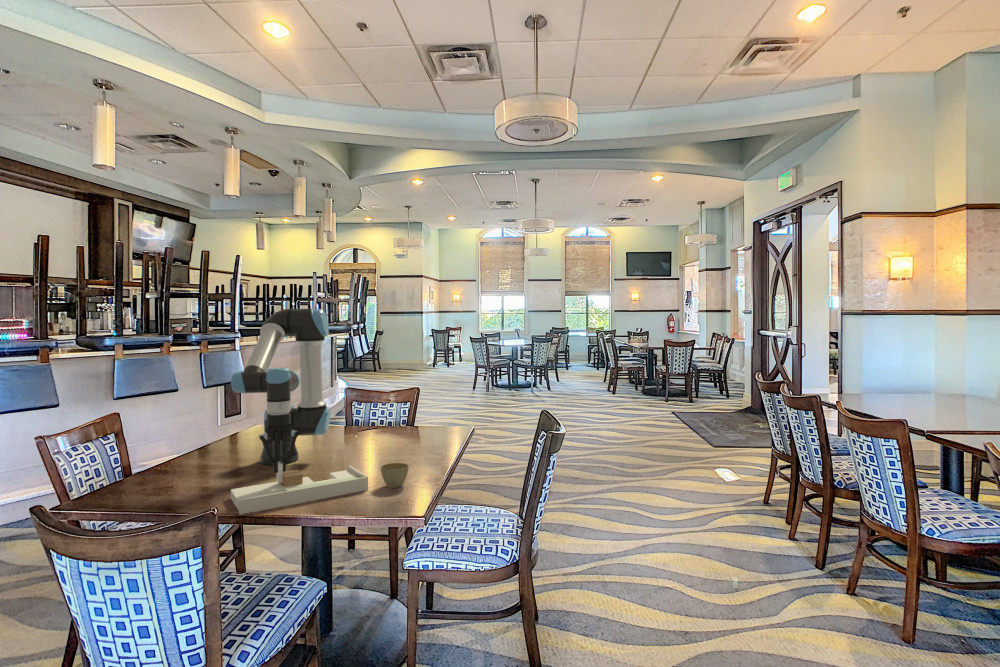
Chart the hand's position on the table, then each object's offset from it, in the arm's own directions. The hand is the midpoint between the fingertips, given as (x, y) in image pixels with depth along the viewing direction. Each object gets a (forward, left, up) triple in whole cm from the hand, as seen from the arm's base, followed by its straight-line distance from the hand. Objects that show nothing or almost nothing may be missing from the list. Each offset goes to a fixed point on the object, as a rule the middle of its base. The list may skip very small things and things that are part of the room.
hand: (279, 481), depth 182 cm
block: (0, +4, -1) cm, 4 cm away
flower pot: (+15, +36, -4) cm, 39 cm away
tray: (+4, +6, -4) cm, 8 cm away
